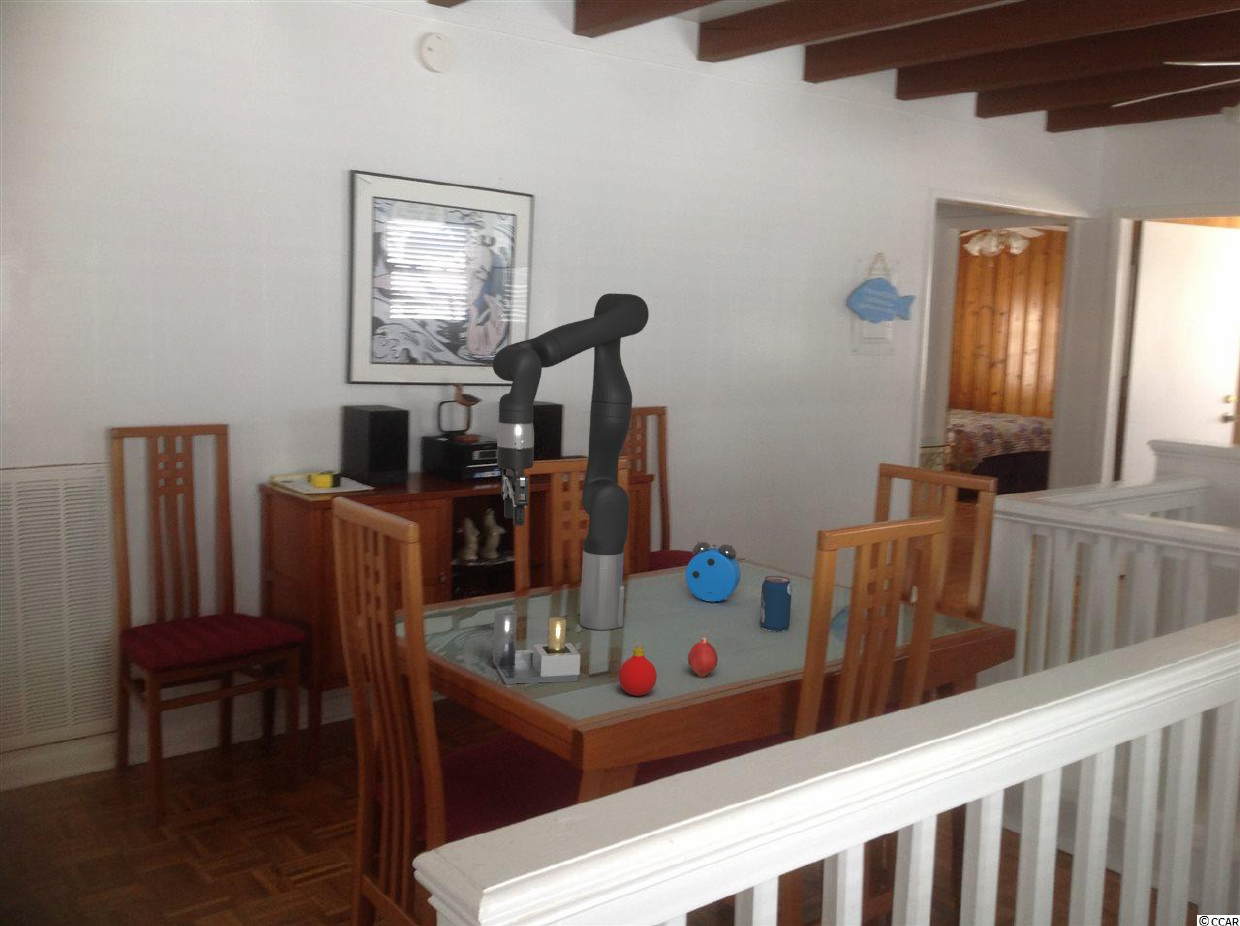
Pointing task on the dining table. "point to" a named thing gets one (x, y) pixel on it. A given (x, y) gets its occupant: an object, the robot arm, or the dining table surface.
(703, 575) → the alarm clock
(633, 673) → the christmas ornament
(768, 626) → the soda can
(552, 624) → the gold cylinder
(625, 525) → the robot arm
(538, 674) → the grey desk organizer
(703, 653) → the onion
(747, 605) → the dining table surface
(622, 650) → the dining table surface
